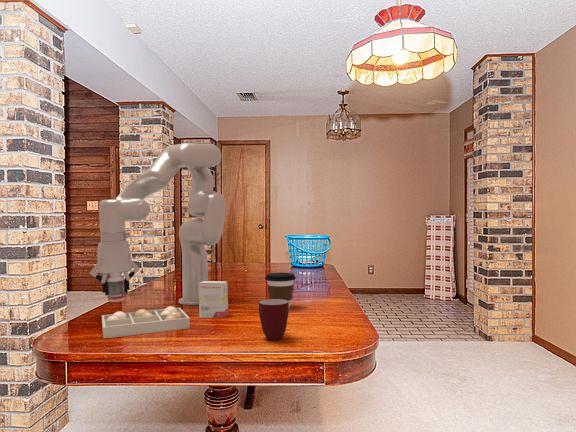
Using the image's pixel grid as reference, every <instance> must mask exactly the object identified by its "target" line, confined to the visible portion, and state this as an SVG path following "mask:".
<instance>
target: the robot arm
mask: <svg viewBox="0 0 576 432" xmlns="http://www.w3.org/2000/svg"><path fill="white" fill-rule="evenodd" d="M221 159H222V152H221V149H220V148H219V147H218V146H217V145H215V144H212V143H194V142H193V143H189V142H186V143H185V142H184V143H177V144H170V145H168V146H167V147H165V148H164V149H163V150H162V151H161V153H160V154H159V155H158V156H157V157H156V158H155V160H153V161H154V162H153V163H151V165H150V166H149V167H148V168H147V170H145V172H143V173H142V174H141V175H140V176H138V177H137V178H136V179H134V180H133V181H131V183H129V184H128V185H126V186H125V188H123V189H122V191H120V193H119V194H118V195H117V196H116V197H115V198H114V199H103V200H100V201H99V203H98V216H99V232H100V242H98V245H97V252H96V253H97V259H96V262H97V263H96V264H95V265H94V267H93V268H92V269H91V270H90V272H89V275H90V276H92V277H94V278H95V279H96V280H98V281H99V282H100V283H101V285H102V286H101V289H102V293H103V294H104V295H105V296H107V297H108V291H107V278H108V275H109V274H111V273H114V272H119V273H122V274H123V275H124V279H125V294H128V293H129V292H128V291H130V289H131V287H130V285H131V284H130V280H131V279H132V278H133V277H134V276H135V274H137V272H138V271H140V267H139V266H138V265H137V264H136V263H135V262H134V261H133V260H132V254H131V248H130V243H129V240H127V239H128V238H131V233H130V232H126V221H129V222H130V221H132V222H134V221H136V222H137V221H141V220H144V219H146V218H147V217H148V216H149V215H150V213H151V212H150V211H151V208H150V205H149V203H148V202H147V201H146V200H145V199H146V198H147V197H149V196H151V195H153V194H155V193H157V192H160V191H162V190H164V189H165V188H166V187H167V186H168V184H169V183H170V182H171V180H173V178H174V177H175V175H176V174H177V173H178V172H179V171H180V169H182V168H186V169H188V171H189V173H190V175H191V187H190V191H189V197H188V203H187V210H188V213H189V214H190V215H191V216H193V217H198V218H203V219H189V220H188V219H187V220H186V221H184V222H183V223H182V224H181V225H180V226H179V229H178V236H179V242H180V247H181V266H182V267H181V269H182V273H181V274H182V276H181V278H182V280H181V281H182V297H181V298H179V299H178V303H179V304H180V305H184V306H197V305H198V306H199V283H200V282H203V281H208V280H209V278H208V273H209V272H208V271H209V270H208V267H209V266H208V251H207V249H206V247H205V246H215V245H216V244H218V243H219V241H220V240H221V238H222V236H223V231H224V225H225V219H226V213H227V202H226V199H225V197H224V195H223V194H222V193H220V192H217V191H214V185H215V184H214V183H215V180H214V176H213V173H212V172H211V170H210V169H209V168H212V167H213V168H214V167H216V166H217V165H219V164H220V162H221ZM132 268H133V269H132ZM97 271H98V273H99V274H98V273H97Z"/></svg>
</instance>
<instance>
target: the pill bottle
mask: <svg viewBox="0 0 576 432" xmlns="http://www.w3.org/2000/svg"><path fill="white" fill-rule="evenodd" d="M108 276H109V277H107V278H106V282H107V291H108V295H107V301H108V302H111V303H115V302H116V303H117V302H121V301H125V300H126V293H125V276H123V272H122V273H119V272H114V273H111V274H108Z"/></svg>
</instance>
